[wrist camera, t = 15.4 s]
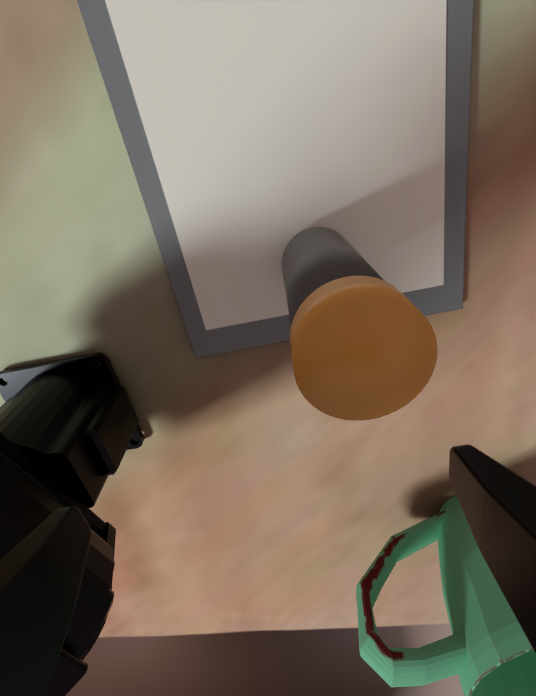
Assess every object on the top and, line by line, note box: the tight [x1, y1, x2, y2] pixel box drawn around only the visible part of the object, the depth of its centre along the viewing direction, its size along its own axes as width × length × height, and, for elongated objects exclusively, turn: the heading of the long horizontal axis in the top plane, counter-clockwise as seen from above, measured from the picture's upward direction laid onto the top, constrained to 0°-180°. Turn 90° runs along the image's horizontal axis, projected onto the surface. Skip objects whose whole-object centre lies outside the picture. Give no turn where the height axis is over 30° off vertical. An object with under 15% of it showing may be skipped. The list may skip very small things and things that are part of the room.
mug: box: [356, 495, 536, 696], centre depth 23 cm, size 15×10×10 cm
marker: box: [282, 227, 437, 420], centre depth 14 cm, size 3×3×10 cm
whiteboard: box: [77, 0, 473, 358], centre depth 16 cm, size 14×18×2 cm
